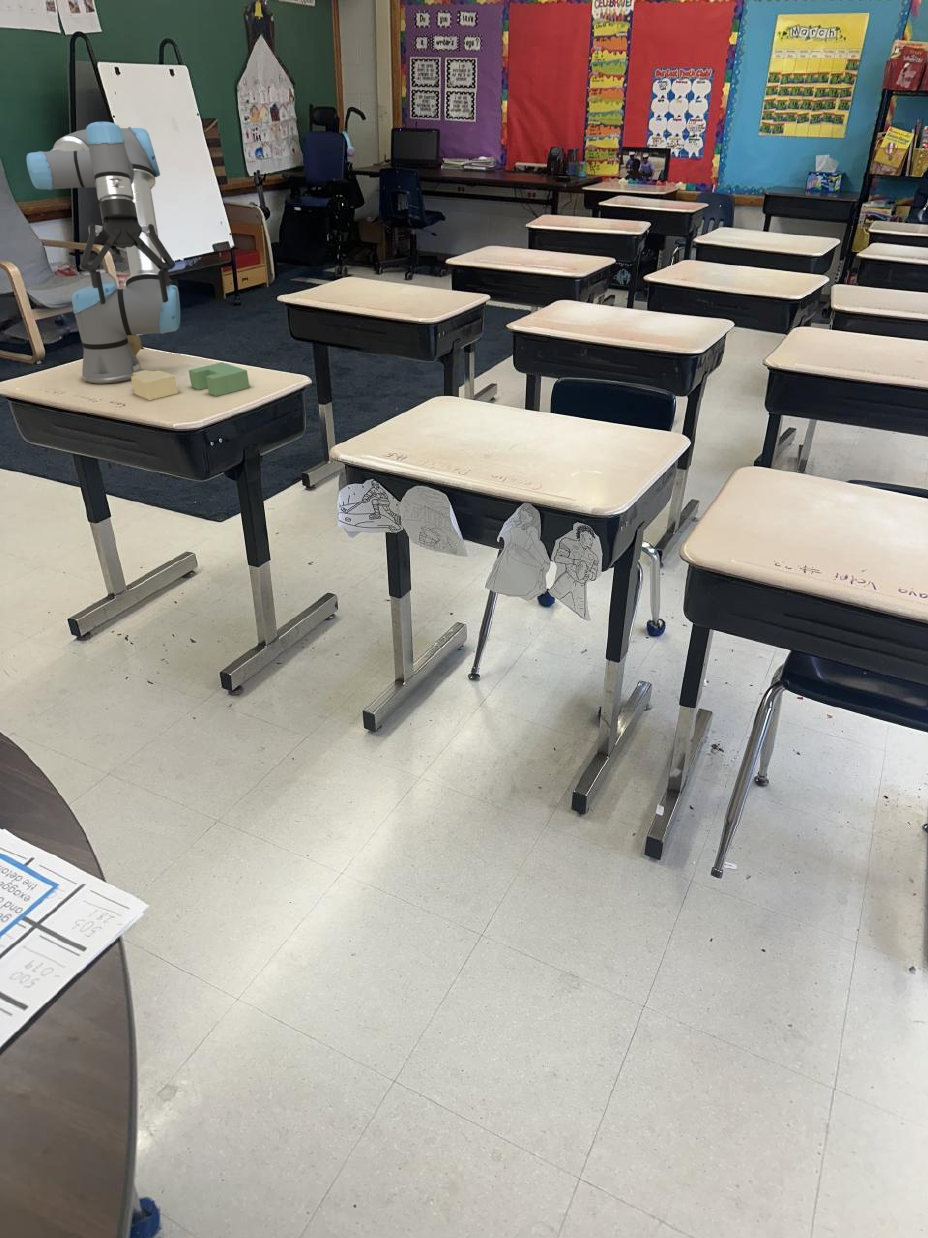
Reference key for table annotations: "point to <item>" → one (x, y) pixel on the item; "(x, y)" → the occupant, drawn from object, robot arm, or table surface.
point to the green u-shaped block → (219, 378)
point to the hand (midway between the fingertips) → (135, 302)
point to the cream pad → (153, 384)
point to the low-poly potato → (135, 343)
